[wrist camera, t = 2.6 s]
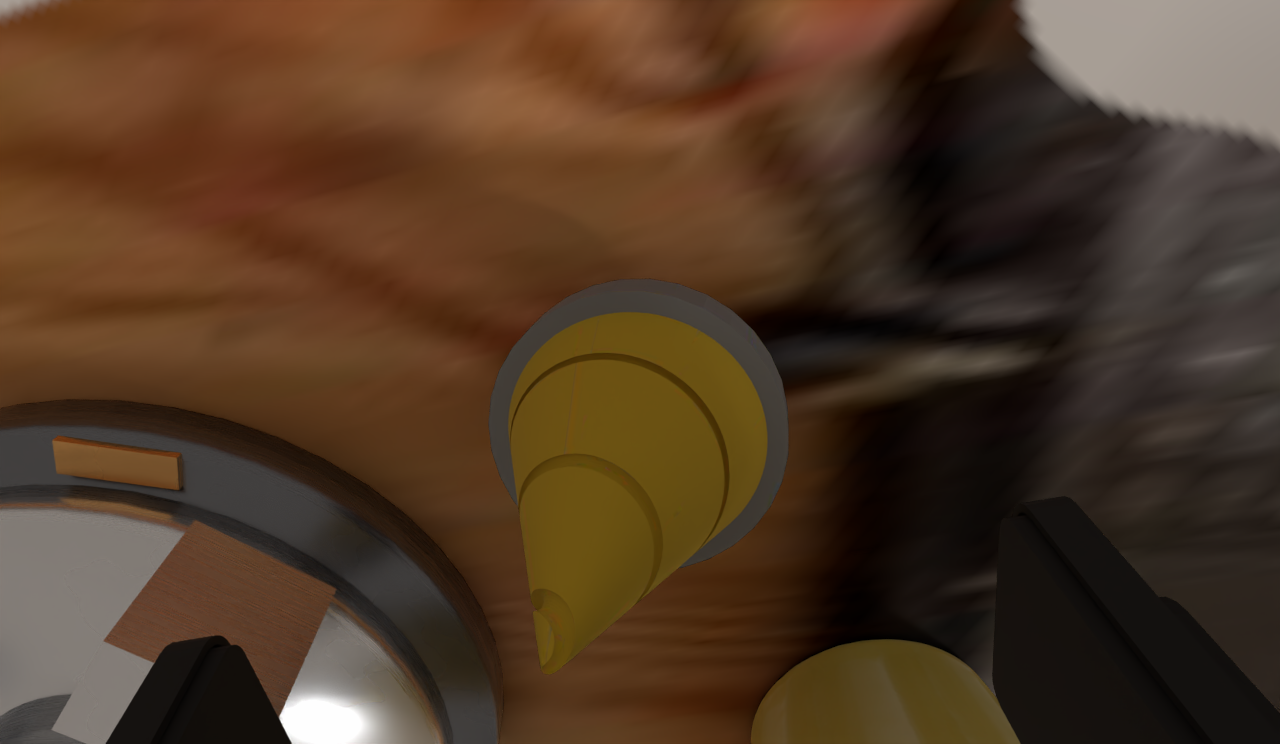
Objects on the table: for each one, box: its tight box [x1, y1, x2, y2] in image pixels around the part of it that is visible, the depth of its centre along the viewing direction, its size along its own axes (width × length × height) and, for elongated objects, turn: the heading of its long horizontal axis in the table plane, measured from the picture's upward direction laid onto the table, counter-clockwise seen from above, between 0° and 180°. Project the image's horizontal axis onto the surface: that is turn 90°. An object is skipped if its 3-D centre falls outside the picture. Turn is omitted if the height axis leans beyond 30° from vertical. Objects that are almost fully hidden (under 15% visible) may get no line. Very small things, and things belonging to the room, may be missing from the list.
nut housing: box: [0, 400, 504, 744], centre depth 21 cm, size 17×17×2 cm
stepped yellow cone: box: [489, 279, 789, 674], centre depth 14 cm, size 5×5×10 cm
